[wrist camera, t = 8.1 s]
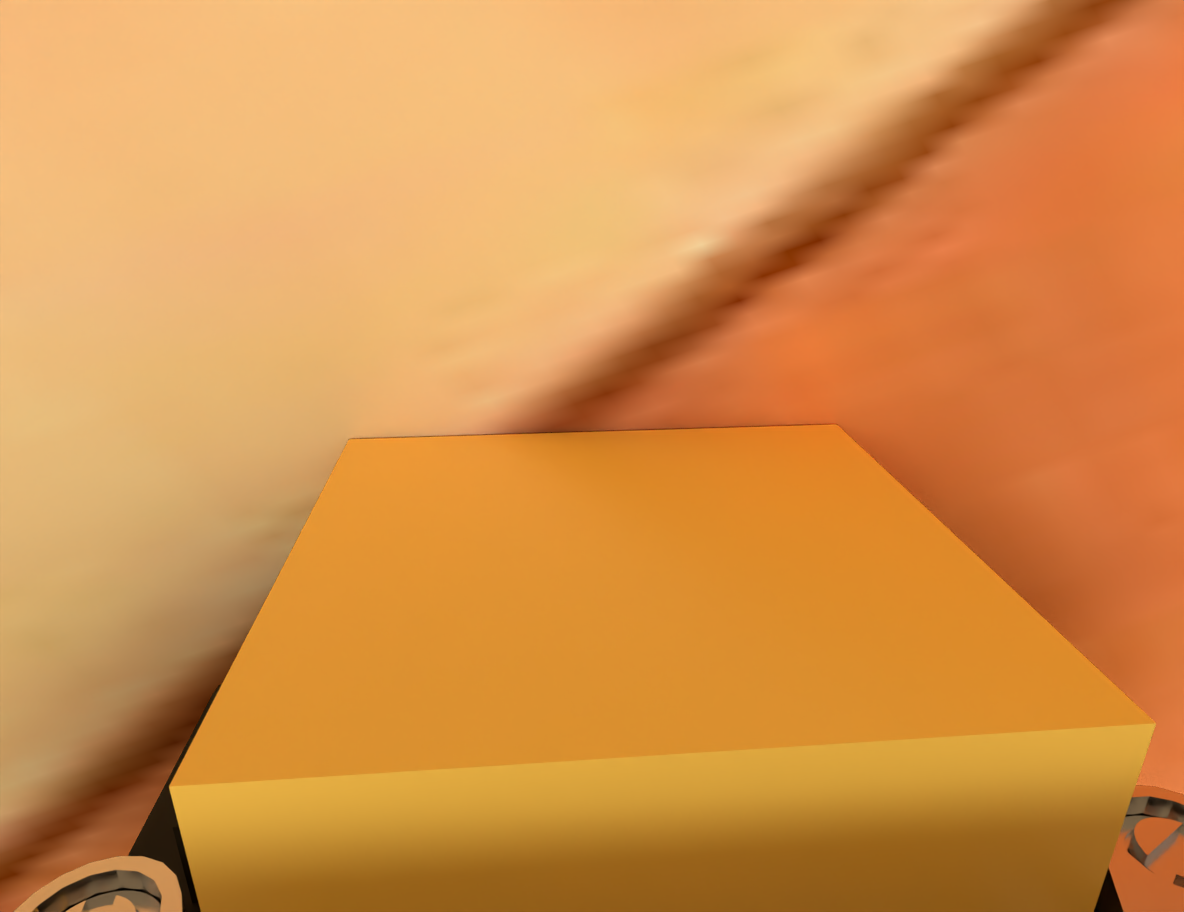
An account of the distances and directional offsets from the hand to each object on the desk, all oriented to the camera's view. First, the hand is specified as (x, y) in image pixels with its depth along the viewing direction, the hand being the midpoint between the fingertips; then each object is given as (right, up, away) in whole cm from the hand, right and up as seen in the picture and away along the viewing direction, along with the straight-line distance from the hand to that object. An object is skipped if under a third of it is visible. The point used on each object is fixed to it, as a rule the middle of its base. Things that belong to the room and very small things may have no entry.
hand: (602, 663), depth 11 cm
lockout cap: (0, 0, +1) cm, 1 cm away
